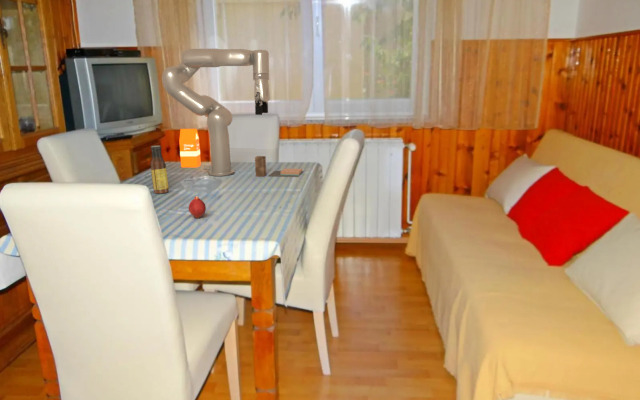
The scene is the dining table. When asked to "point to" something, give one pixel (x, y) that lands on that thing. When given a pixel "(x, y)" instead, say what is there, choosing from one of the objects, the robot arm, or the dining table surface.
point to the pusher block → (260, 166)
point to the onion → (197, 207)
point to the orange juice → (189, 148)
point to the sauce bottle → (158, 171)
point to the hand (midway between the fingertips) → (261, 113)
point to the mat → (278, 174)
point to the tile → (291, 171)
